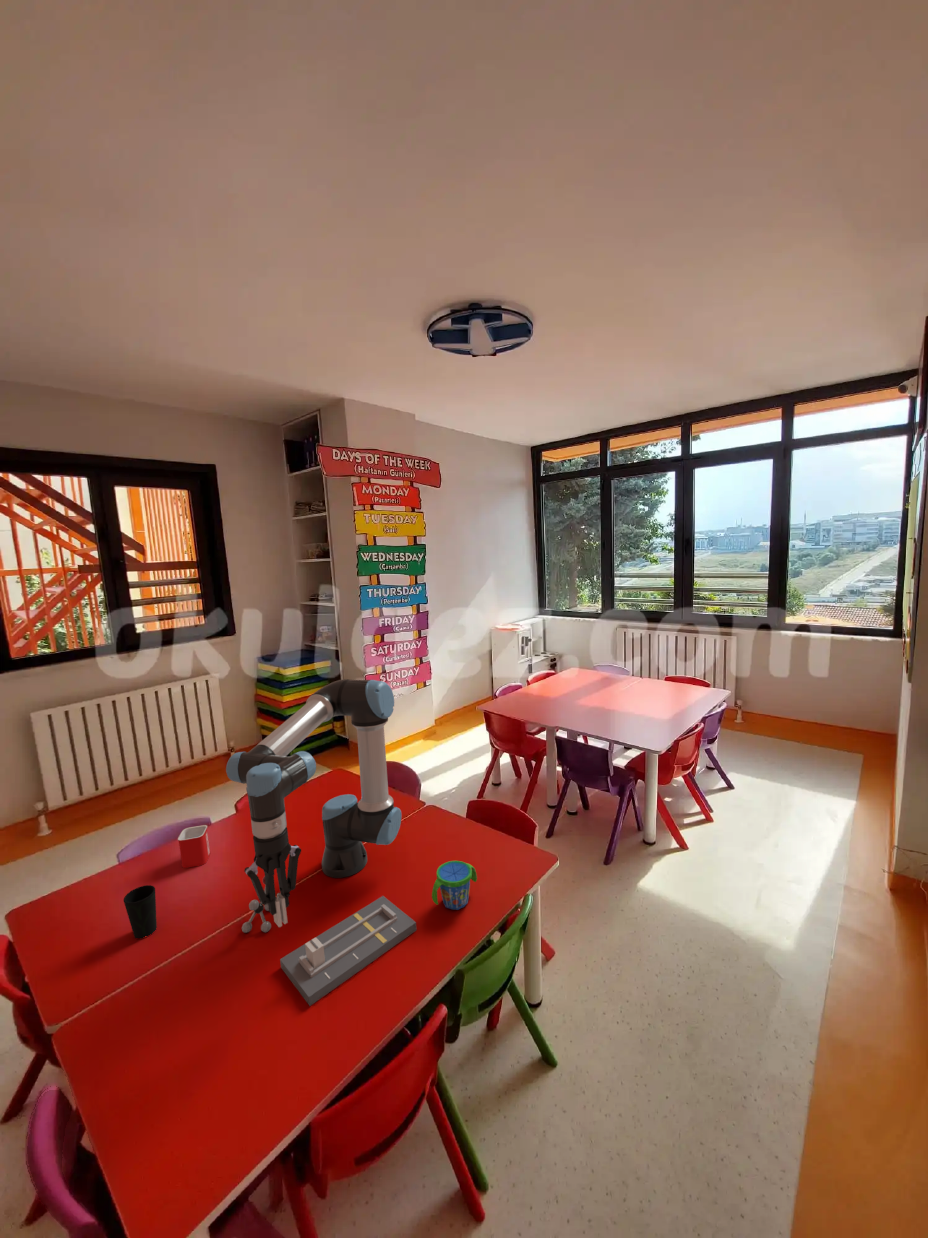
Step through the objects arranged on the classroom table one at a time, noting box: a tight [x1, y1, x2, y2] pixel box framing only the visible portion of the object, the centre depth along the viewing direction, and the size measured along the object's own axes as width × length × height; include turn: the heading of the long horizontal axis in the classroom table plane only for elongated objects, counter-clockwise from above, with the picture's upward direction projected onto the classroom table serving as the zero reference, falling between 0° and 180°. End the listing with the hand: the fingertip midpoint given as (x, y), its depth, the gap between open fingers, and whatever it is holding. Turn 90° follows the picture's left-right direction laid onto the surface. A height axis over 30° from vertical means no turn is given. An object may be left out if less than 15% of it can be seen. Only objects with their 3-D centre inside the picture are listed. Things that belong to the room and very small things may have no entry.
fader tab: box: [304, 936, 325, 970], centre depth 127 cm, size 4×3×5 cm
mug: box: [177, 824, 211, 869], centre depth 179 cm, size 12×8×11 cm
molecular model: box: [241, 875, 272, 934], centre depth 146 cm, size 8×12×11 cm
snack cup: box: [431, 860, 478, 911], centre depth 149 cm, size 16×10×10 cm
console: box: [279, 895, 418, 1007], centre depth 134 cm, size 16×32×4 cm, turn 134°
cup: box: [123, 884, 158, 939], centre depth 144 cm, size 8×8×12 cm
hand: (280, 922), depth 120 cm, fingers closed
